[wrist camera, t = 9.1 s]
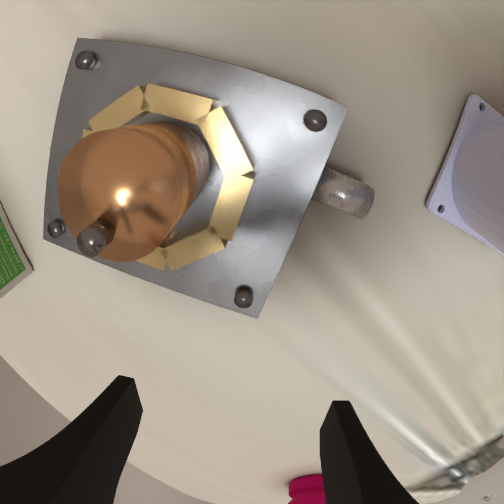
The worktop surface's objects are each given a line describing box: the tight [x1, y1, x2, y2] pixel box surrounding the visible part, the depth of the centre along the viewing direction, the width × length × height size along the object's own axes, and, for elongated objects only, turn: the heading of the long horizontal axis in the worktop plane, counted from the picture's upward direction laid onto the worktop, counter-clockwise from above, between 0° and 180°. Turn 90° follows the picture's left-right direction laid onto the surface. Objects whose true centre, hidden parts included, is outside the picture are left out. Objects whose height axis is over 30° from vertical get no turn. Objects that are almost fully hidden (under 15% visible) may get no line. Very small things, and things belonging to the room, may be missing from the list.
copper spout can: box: [57, 121, 210, 262], centre depth 11 cm, size 4×4×7 cm
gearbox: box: [43, 38, 374, 319], centre depth 15 cm, size 17×12×4 cm
